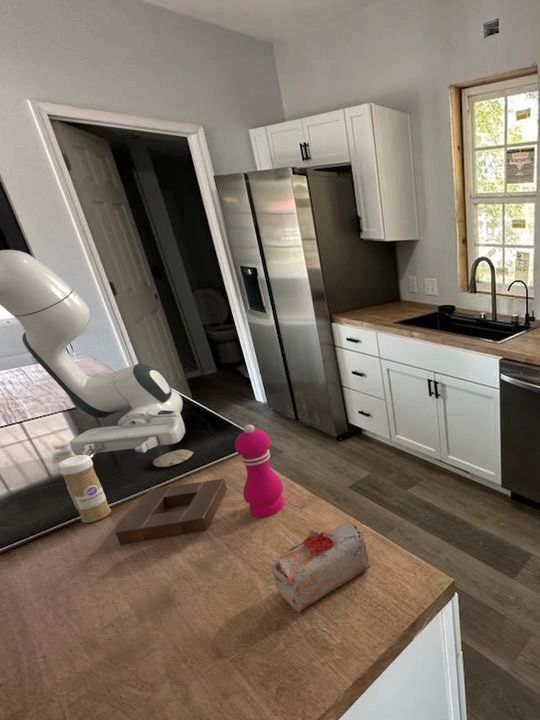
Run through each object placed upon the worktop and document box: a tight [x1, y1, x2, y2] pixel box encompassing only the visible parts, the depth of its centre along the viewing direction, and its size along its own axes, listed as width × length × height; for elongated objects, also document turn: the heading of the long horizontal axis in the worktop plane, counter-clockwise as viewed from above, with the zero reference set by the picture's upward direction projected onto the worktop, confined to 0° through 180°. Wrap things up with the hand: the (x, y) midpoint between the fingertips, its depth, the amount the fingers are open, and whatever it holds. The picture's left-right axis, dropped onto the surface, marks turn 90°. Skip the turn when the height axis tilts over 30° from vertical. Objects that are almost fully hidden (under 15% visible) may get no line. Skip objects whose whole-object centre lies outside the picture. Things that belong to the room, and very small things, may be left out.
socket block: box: [115, 478, 228, 546], centre depth 85 cm, size 14×14×3 cm
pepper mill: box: [234, 424, 285, 518], centre depth 85 cm, size 7×7×20 cm
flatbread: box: [152, 449, 194, 468], centre depth 104 cm, size 8×8×1 cm
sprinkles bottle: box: [57, 455, 112, 524], centre depth 82 cm, size 5×5×14 cm
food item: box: [270, 521, 371, 613], centre depth 69 cm, size 14×8×10 cm, turn 138°
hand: (113, 453), depth 92 cm, fingers open, 8 cm apart
